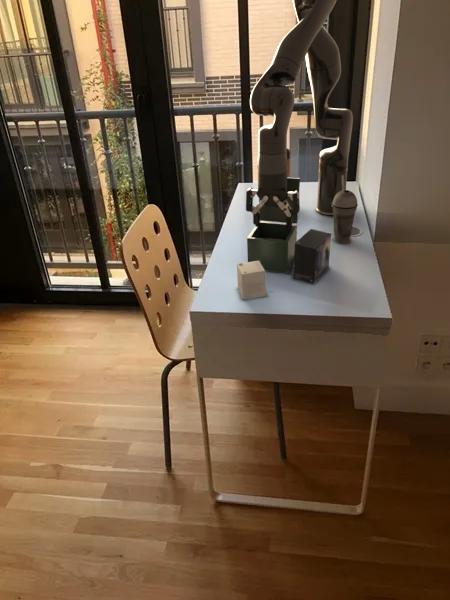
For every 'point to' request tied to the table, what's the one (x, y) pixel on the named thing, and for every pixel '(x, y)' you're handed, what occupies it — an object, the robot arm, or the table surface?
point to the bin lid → (277, 213)
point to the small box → (311, 255)
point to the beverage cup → (344, 214)
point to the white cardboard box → (251, 280)
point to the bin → (272, 246)
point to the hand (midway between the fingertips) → (272, 227)
